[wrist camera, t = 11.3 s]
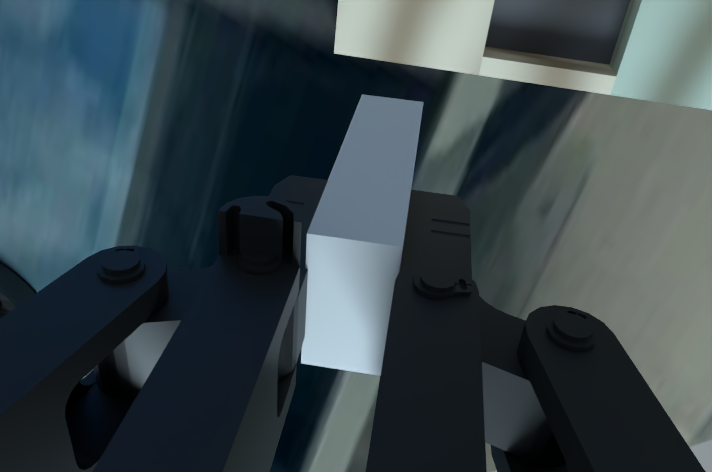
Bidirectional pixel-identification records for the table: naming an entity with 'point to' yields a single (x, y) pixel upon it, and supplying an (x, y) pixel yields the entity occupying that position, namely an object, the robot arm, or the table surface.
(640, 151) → the table surface
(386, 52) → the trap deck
